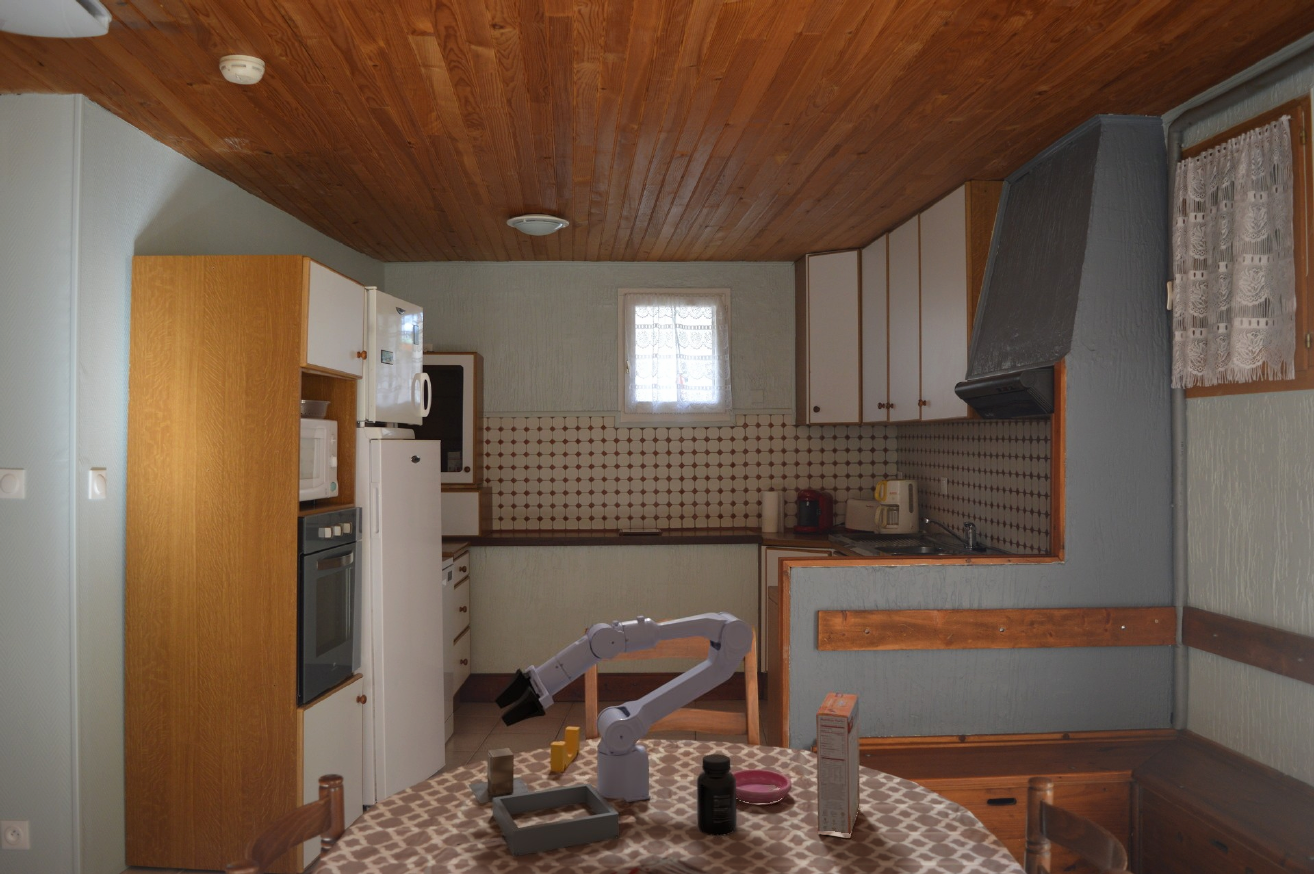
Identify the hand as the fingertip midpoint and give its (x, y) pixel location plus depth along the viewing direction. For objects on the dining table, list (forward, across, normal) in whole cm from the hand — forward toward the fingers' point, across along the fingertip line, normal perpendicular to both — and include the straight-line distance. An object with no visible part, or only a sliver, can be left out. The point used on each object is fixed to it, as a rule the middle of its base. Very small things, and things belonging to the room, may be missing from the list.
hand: (500, 712), depth 162 cm
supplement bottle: (-21, +24, +30) cm, 44 cm away
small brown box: (+8, -3, +14) cm, 17 cm away
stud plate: (+9, -3, +15) cm, 18 cm away
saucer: (-31, +13, +39) cm, 51 cm away
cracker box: (-39, +28, +42) cm, 63 cm away
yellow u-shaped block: (-2, -15, +25) cm, 29 cm away
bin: (+2, +15, +17) cm, 22 cm away
